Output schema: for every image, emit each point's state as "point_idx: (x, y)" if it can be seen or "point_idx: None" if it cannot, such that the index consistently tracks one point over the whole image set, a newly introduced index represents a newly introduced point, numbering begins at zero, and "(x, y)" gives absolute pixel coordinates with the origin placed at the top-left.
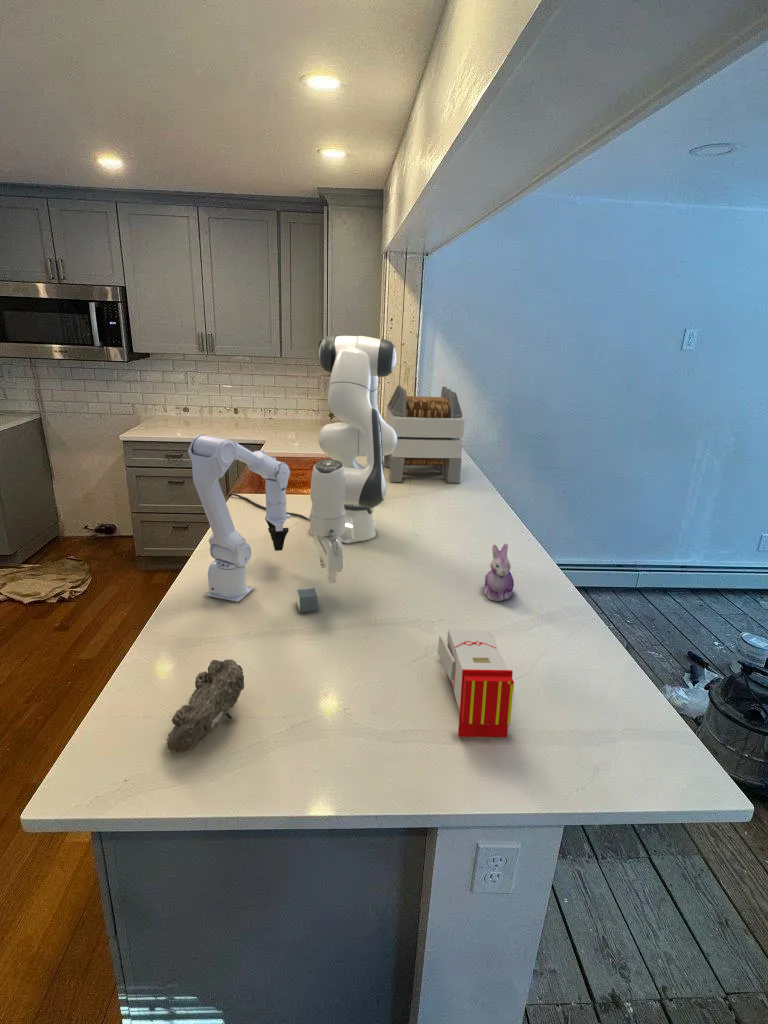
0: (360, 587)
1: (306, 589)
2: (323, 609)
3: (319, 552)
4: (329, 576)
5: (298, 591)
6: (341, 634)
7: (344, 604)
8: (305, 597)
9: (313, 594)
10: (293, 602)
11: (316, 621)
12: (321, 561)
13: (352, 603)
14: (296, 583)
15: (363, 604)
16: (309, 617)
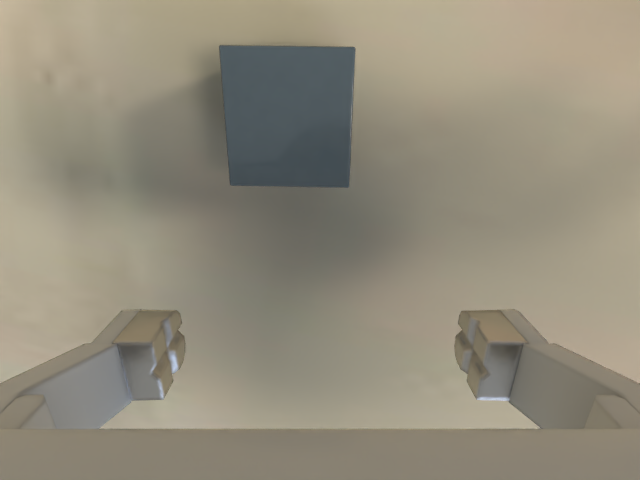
0: (432, 395)
1: (342, 125)
2: (266, 198)
3: (443, 474)
4: (78, 355)
5: (325, 54)
6: (27, 230)
7: (295, 301)
8: (223, 95)
9: (255, 162)
10: (383, 42)
11: (148, 138)
12: (499, 349)
13: (297, 334)
14: (617, 105)
15: (279, 371)
16: (193, 108)
